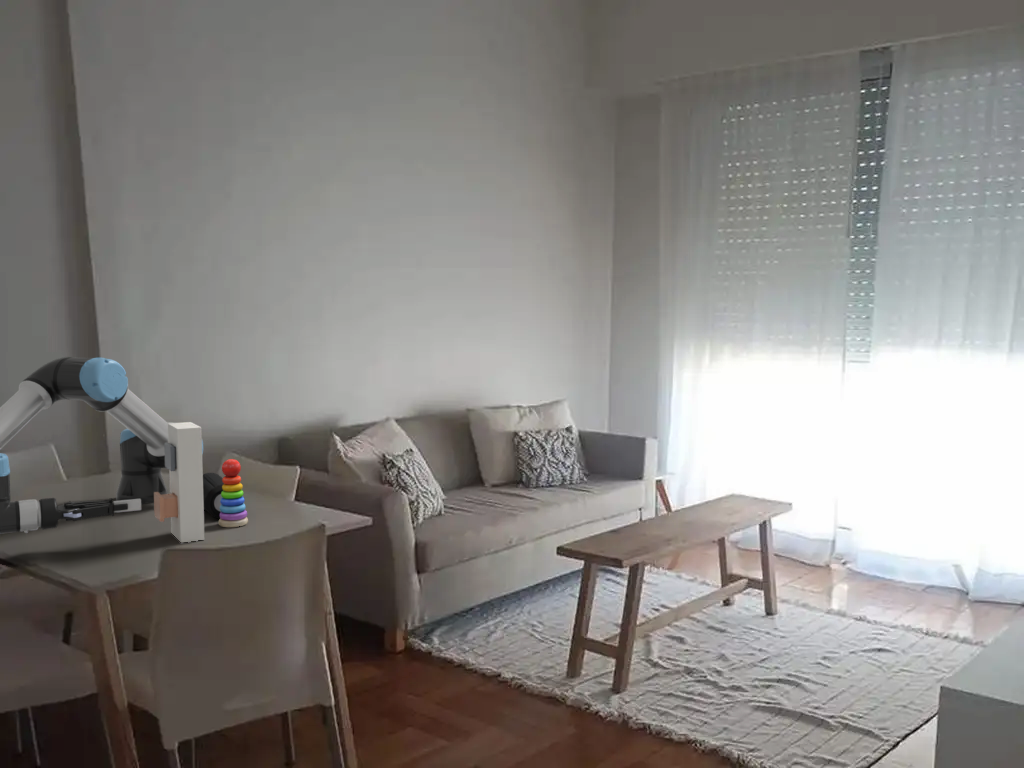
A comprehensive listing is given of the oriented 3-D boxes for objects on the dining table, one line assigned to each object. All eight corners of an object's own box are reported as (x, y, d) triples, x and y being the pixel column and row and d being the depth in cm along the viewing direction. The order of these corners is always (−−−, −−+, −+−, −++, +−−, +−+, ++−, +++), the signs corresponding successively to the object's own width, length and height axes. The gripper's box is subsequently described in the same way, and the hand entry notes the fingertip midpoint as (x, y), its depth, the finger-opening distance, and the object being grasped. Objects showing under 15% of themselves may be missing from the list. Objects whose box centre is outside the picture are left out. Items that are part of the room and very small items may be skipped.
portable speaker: (242, 518, 267) (242, 484, 266) (207, 522, 263) (206, 488, 262) (224, 501, 290) (223, 470, 289) (191, 504, 285) (190, 472, 284)
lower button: (154, 515, 245) (153, 492, 245) (181, 512, 249) (181, 489, 249) (160, 521, 239) (159, 497, 238) (188, 518, 243) (187, 494, 242)
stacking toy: (217, 522, 262) (216, 457, 260) (246, 520, 265) (245, 455, 263) (219, 529, 255) (217, 462, 253) (249, 526, 258) (247, 460, 256)
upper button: (165, 466, 246) (164, 442, 245) (192, 464, 249) (191, 440, 249) (171, 471, 239) (170, 446, 239) (198, 468, 243) (198, 444, 242)
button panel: (171, 533, 250) (167, 423, 247) (193, 530, 253) (190, 421, 251) (180, 543, 240) (177, 429, 237) (204, 540, 243) (201, 427, 240)
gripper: (37, 523, 233) (136, 513, 245) (41, 535, 222) (145, 523, 234) (36, 494, 233) (135, 485, 245) (40, 504, 221) (144, 494, 234)
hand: (140, 504), depth 240 cm, fingers closed
